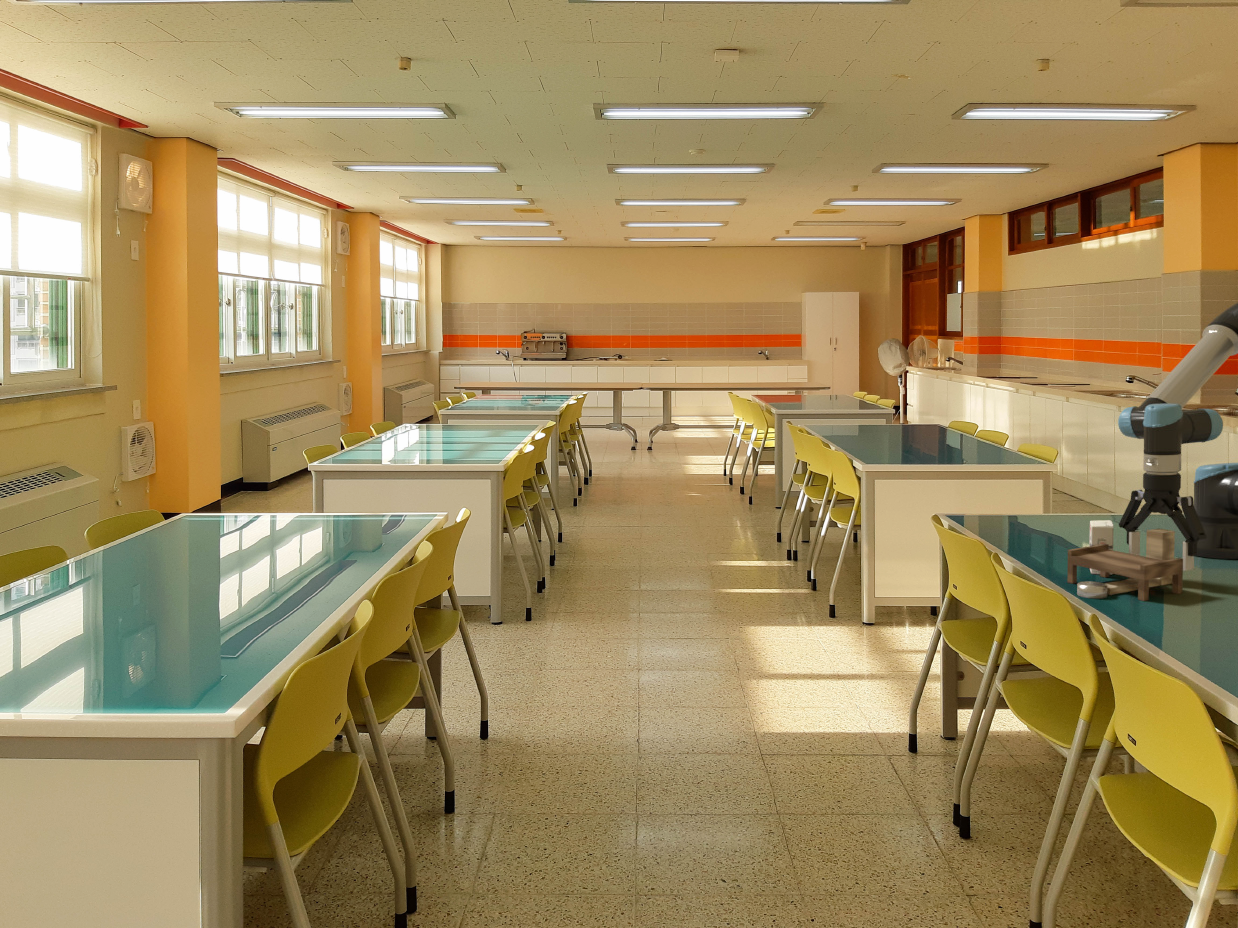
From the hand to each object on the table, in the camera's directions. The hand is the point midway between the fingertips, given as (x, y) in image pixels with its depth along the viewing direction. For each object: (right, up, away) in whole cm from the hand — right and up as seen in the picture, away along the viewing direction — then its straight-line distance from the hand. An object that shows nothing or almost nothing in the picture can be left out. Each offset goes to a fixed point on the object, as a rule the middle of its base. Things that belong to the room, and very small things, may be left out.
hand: (1160, 564), depth 226 cm
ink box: (-7, -3, +14) cm, 16 cm away
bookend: (-7, -5, -3) cm, 9 cm away
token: (-19, -6, -8) cm, 22 cm away
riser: (-10, -5, -3) cm, 12 cm away
